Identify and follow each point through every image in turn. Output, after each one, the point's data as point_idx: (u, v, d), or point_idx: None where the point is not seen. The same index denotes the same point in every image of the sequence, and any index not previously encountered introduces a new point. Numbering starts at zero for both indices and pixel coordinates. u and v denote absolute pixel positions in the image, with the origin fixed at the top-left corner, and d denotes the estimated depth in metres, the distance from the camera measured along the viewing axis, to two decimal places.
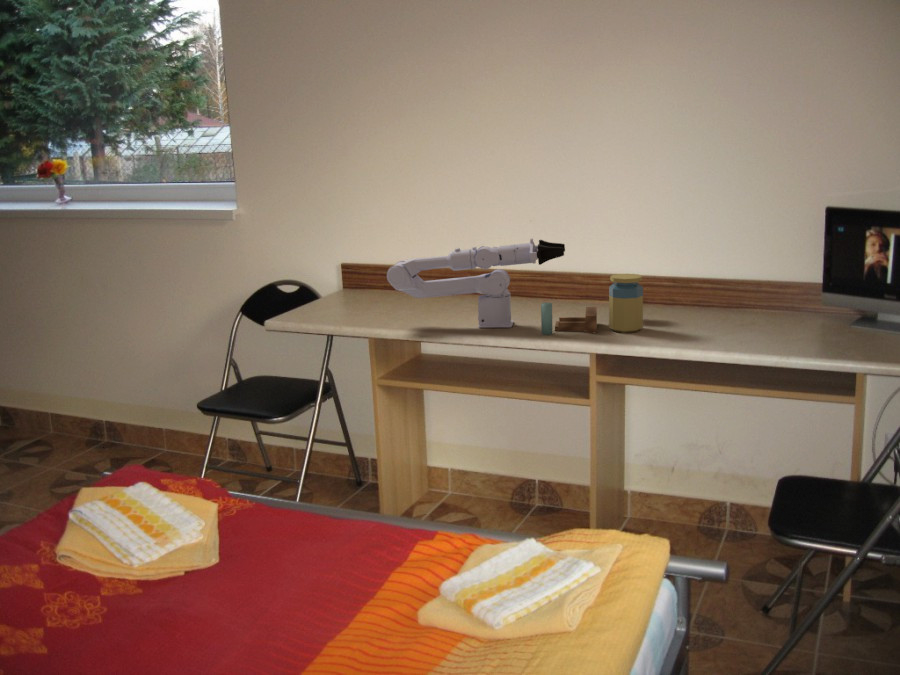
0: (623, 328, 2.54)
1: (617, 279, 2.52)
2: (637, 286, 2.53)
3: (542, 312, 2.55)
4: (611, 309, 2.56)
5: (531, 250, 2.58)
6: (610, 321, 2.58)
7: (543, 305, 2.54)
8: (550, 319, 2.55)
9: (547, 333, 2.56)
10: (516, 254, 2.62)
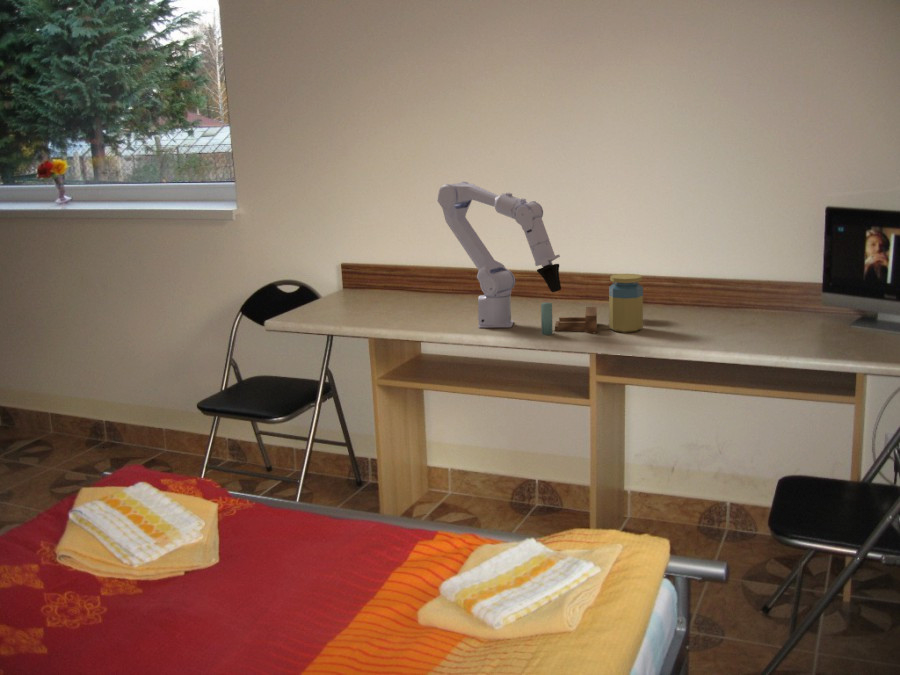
0: (623, 328, 2.54)
1: (617, 279, 2.52)
2: (637, 286, 2.53)
3: (542, 312, 2.55)
4: (611, 309, 2.56)
5: (549, 258, 2.51)
6: (610, 321, 2.58)
7: (543, 305, 2.54)
8: (550, 319, 2.55)
9: (547, 333, 2.56)
10: (540, 244, 2.53)
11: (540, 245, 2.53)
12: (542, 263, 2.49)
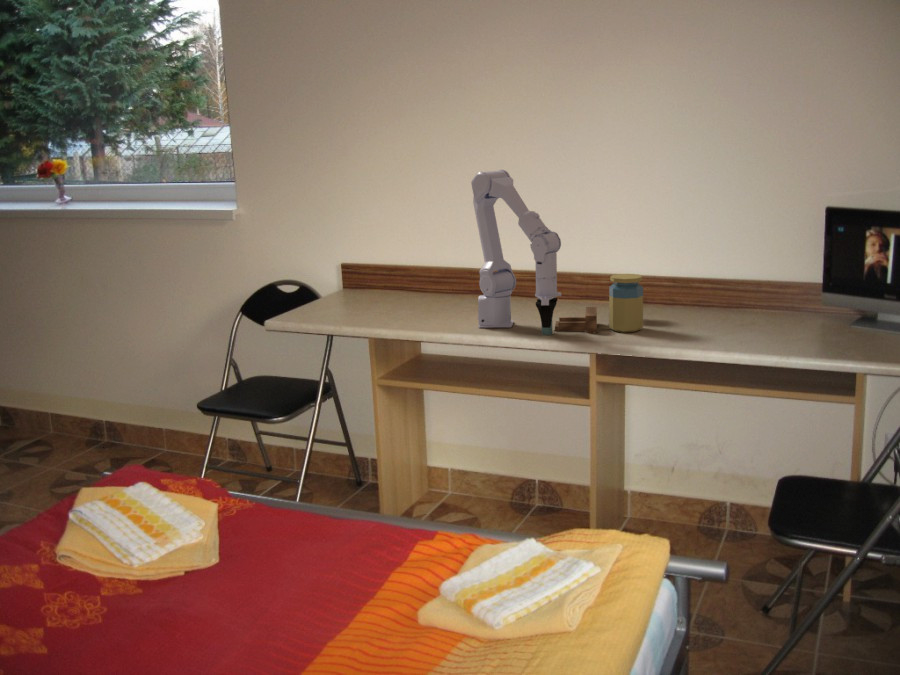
0: (623, 328, 2.54)
1: (617, 279, 2.52)
2: (637, 286, 2.53)
3: None
4: (611, 309, 2.56)
5: (550, 298, 2.50)
6: (610, 321, 2.58)
7: None
8: None
9: (547, 333, 2.56)
10: (547, 280, 2.51)
11: (546, 280, 2.51)
12: (542, 302, 2.48)
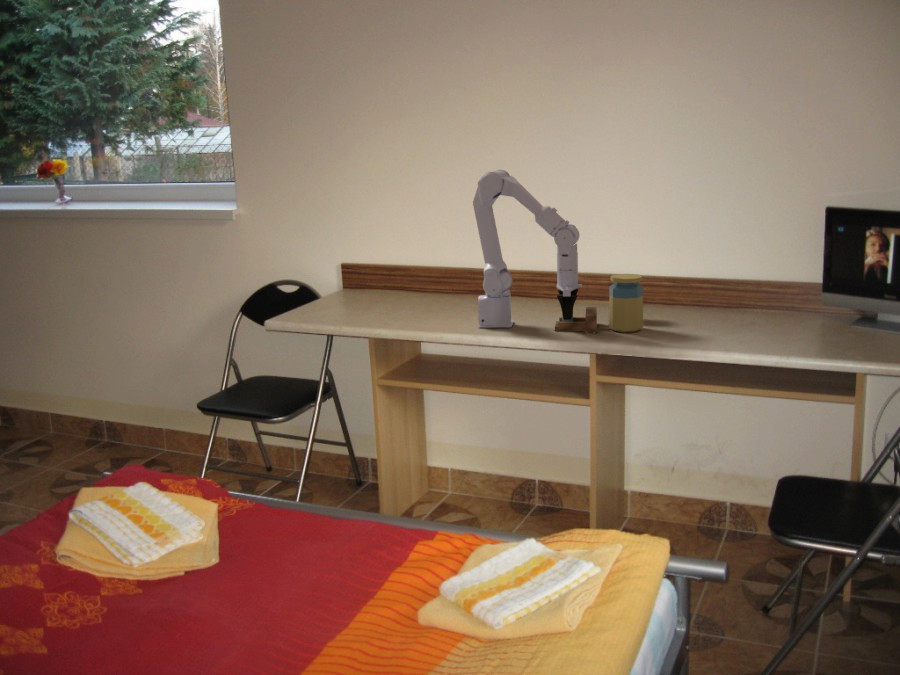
0: (623, 328, 2.54)
1: (617, 279, 2.52)
2: (637, 286, 2.53)
3: None
4: (611, 309, 2.56)
5: (572, 289, 2.55)
6: (610, 321, 2.58)
7: None
8: None
9: None
10: (568, 272, 2.56)
11: (568, 272, 2.57)
12: (564, 293, 2.54)
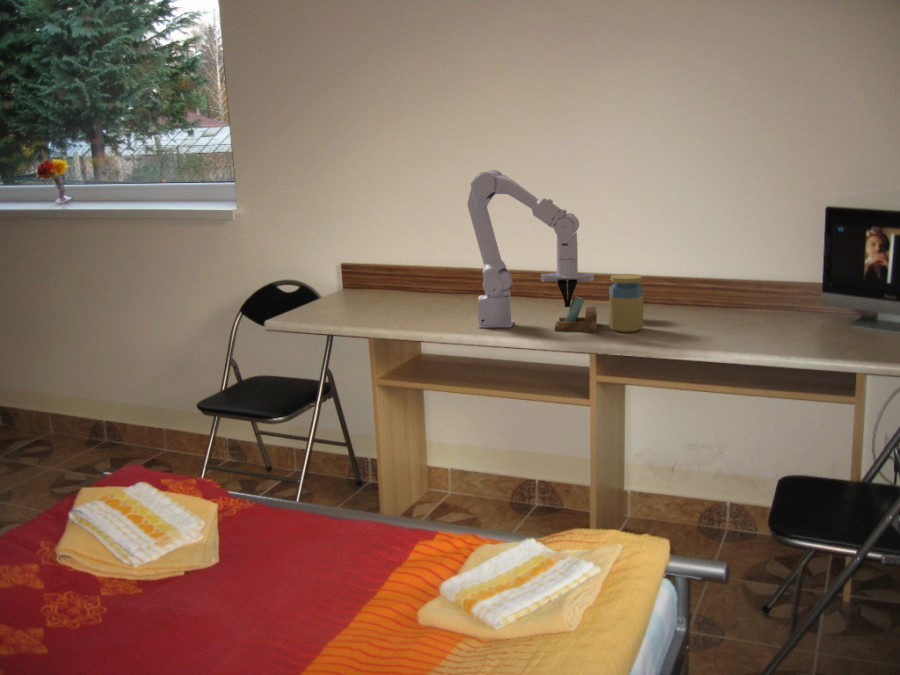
0: (623, 328, 2.54)
1: (617, 279, 2.52)
2: (637, 287, 2.53)
3: (572, 305, 2.60)
4: (611, 309, 2.56)
5: (548, 276, 2.59)
6: (610, 321, 2.58)
7: (576, 299, 2.59)
8: (577, 314, 2.61)
9: None
10: None
11: None
12: None
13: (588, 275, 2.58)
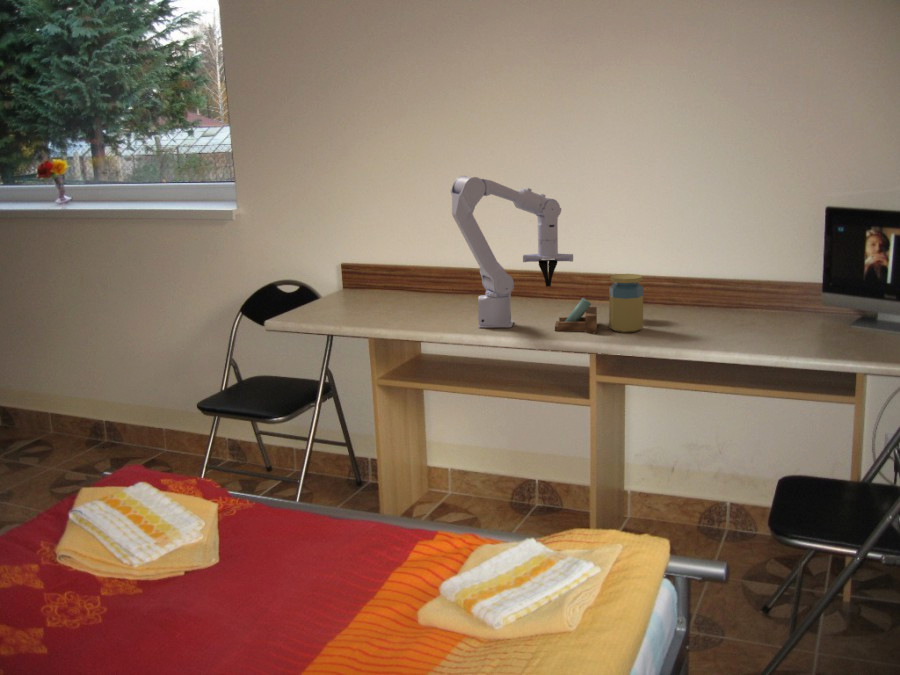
0: (623, 328, 2.54)
1: (617, 279, 2.52)
2: (637, 286, 2.53)
3: (578, 306, 2.60)
4: (612, 309, 2.56)
5: (530, 257, 2.71)
6: (610, 321, 2.58)
7: (584, 301, 2.59)
8: (581, 316, 2.61)
9: None
10: (538, 241, 2.70)
11: None
12: None
13: (568, 256, 2.69)
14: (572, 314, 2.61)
